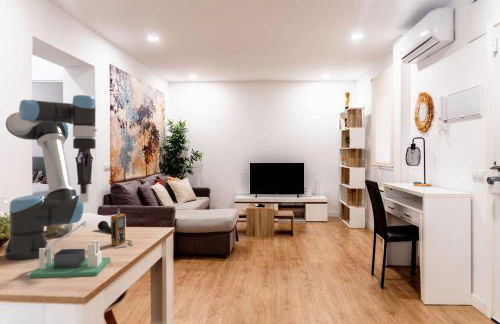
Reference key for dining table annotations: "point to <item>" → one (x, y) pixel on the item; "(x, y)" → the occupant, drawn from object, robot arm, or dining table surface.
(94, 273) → the circuit board
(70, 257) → the heat sink
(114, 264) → the dining table surface
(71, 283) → the dining table surface
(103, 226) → the microphone
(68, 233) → the clamp bar
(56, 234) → the ceramic sculpture
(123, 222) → the multimeter
